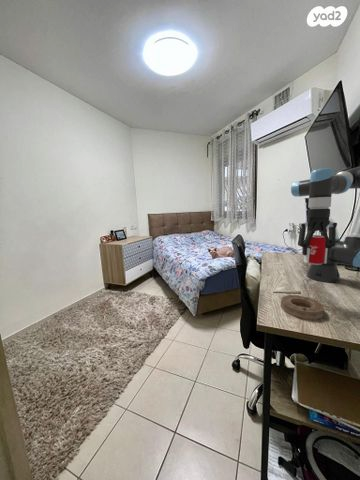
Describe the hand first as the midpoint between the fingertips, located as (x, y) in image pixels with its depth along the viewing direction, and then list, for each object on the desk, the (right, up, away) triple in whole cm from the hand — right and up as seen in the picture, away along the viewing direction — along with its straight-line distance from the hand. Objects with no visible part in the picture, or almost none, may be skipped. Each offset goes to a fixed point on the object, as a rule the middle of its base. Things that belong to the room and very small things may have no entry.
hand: (314, 262), depth 82 cm
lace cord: (-7, -16, +9) cm, 19 cm away
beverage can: (0, -1, 0) cm, 1 cm away
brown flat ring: (-10, -18, -6) cm, 22 cm away
